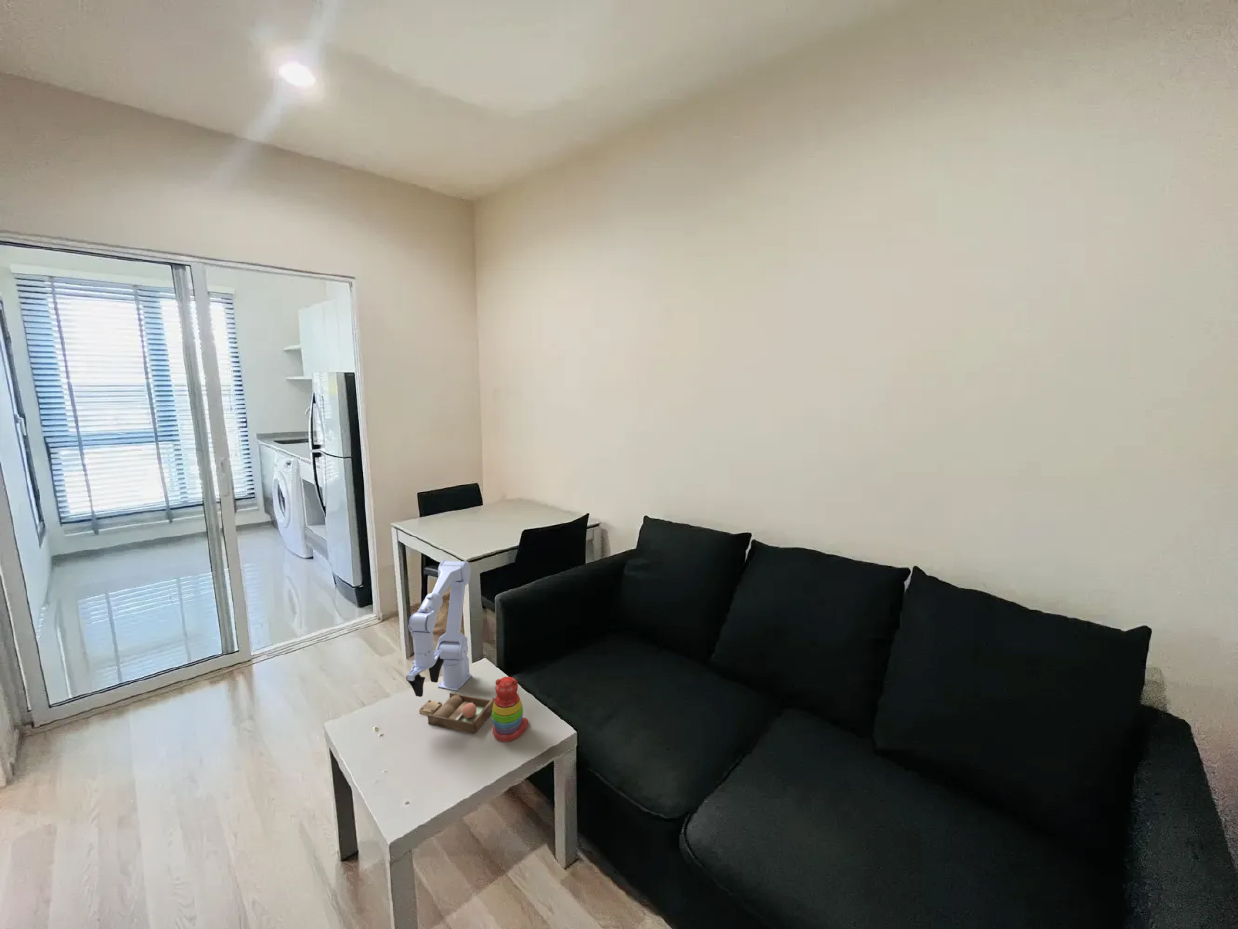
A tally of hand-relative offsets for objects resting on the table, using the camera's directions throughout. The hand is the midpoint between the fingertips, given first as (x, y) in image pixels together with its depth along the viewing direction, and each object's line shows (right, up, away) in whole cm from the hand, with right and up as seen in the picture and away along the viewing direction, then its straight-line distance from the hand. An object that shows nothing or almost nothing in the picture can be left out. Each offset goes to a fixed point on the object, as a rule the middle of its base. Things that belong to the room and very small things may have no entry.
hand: (427, 688), depth 157 cm
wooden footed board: (-1, -9, +5) cm, 10 cm away
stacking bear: (+27, -11, -5) cm, 30 cm away
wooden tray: (+11, -13, +2) cm, 17 cm away
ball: (+13, -7, +1) cm, 15 cm away
